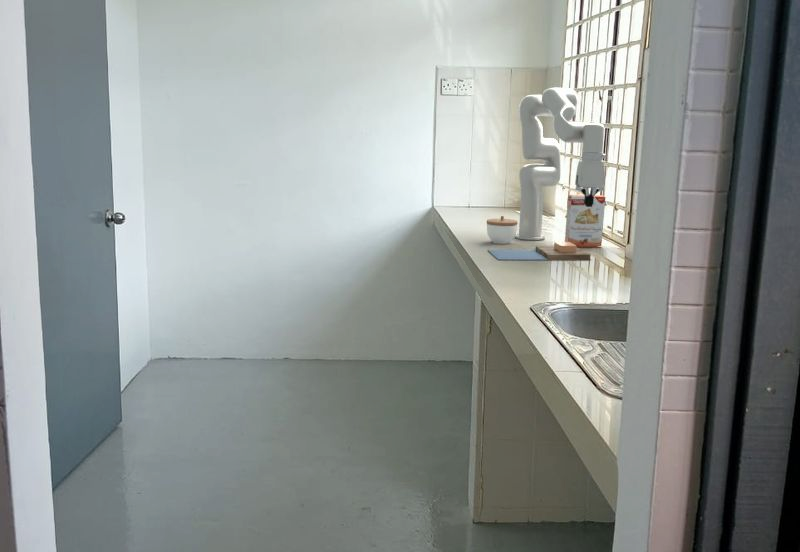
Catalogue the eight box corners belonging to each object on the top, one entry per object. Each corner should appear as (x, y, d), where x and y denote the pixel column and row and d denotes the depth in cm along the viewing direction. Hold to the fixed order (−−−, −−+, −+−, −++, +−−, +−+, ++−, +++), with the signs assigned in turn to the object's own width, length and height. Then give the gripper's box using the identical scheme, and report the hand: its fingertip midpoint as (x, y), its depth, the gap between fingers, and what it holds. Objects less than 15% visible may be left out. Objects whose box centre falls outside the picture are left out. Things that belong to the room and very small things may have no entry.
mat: (487, 250, 312) (487, 249, 312) (533, 250, 313) (534, 249, 313) (498, 260, 292) (498, 259, 292) (547, 260, 294) (547, 259, 294)
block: (553, 248, 308) (554, 241, 308) (569, 248, 309) (569, 241, 308) (560, 252, 300) (561, 245, 299) (576, 252, 300) (576, 245, 300)
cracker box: (567, 247, 323) (571, 195, 319) (564, 244, 329) (567, 194, 325) (602, 247, 324) (605, 196, 319) (597, 245, 330) (601, 194, 325)
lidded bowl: (515, 245, 325) (516, 218, 323) (484, 244, 327) (485, 217, 325) (517, 240, 337) (518, 214, 335) (487, 239, 339) (488, 213, 337)
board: (535, 251, 313) (535, 246, 312) (575, 251, 314) (575, 246, 314) (547, 259, 295) (548, 254, 295) (590, 259, 296) (590, 254, 296)
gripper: (607, 157, 302) (604, 205, 306) (569, 156, 301) (566, 205, 304) (614, 158, 295) (611, 207, 298) (575, 157, 293) (572, 207, 297)
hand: (588, 206), depth 301 cm, fingers closed
